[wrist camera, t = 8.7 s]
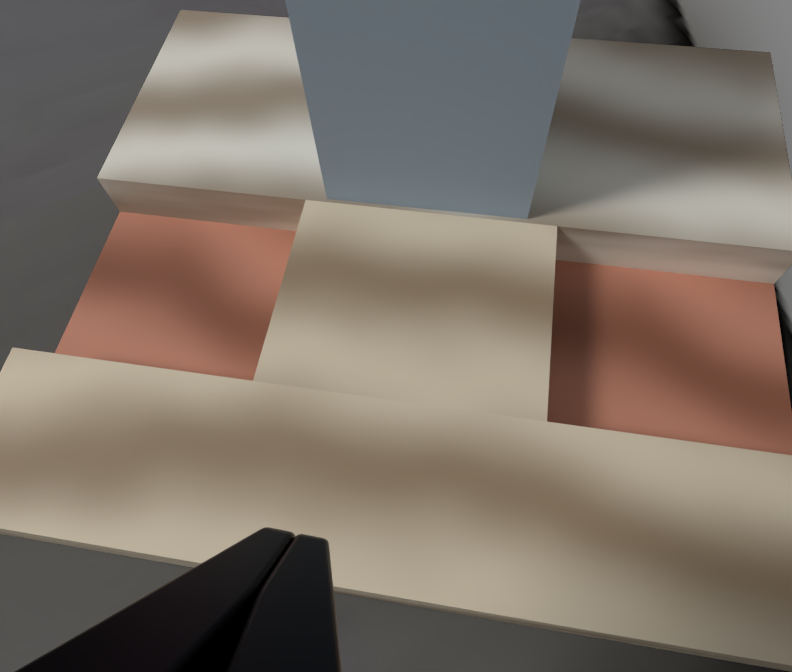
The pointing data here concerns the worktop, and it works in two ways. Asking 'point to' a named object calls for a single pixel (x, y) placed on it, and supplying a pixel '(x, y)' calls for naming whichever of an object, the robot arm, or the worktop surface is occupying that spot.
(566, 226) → the trap board
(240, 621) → the robot arm
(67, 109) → the worktop surface
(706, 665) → the worktop surface
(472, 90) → the slate block
